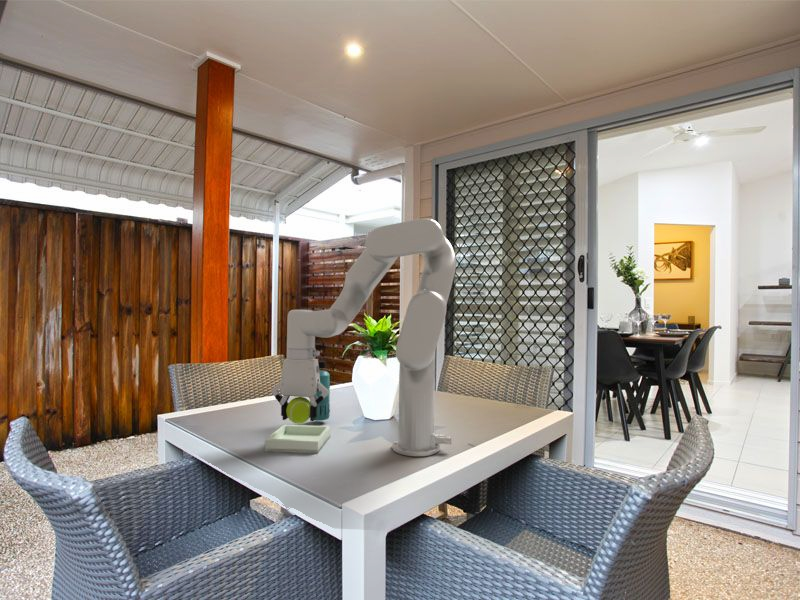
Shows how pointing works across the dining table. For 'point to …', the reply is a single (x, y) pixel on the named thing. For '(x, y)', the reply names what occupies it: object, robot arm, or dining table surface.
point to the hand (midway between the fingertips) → (299, 418)
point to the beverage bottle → (324, 404)
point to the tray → (298, 439)
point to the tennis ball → (298, 410)
